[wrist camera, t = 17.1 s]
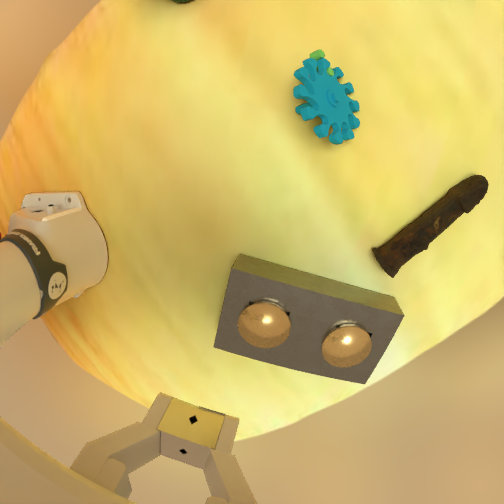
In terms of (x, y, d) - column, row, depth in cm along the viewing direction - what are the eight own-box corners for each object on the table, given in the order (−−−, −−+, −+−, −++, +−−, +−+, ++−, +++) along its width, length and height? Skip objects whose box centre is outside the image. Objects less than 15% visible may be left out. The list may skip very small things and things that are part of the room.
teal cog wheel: (369, 146, 30) (310, 137, 25) (331, 152, 35) (269, 148, 29) (354, 61, 28) (294, 35, 23) (319, 74, 33) (258, 57, 28)
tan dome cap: (313, 341, 40) (314, 361, 36) (330, 303, 38) (333, 322, 33) (354, 350, 39) (358, 371, 35) (373, 315, 37) (380, 333, 33)
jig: (222, 327, 43) (211, 350, 37) (239, 253, 39) (230, 270, 33) (360, 362, 41) (365, 387, 36) (394, 297, 37) (406, 318, 32)
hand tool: (383, 270, 37) (393, 285, 32) (368, 247, 36) (377, 260, 32) (483, 192, 31) (501, 198, 26) (471, 167, 30) (490, 170, 25)
